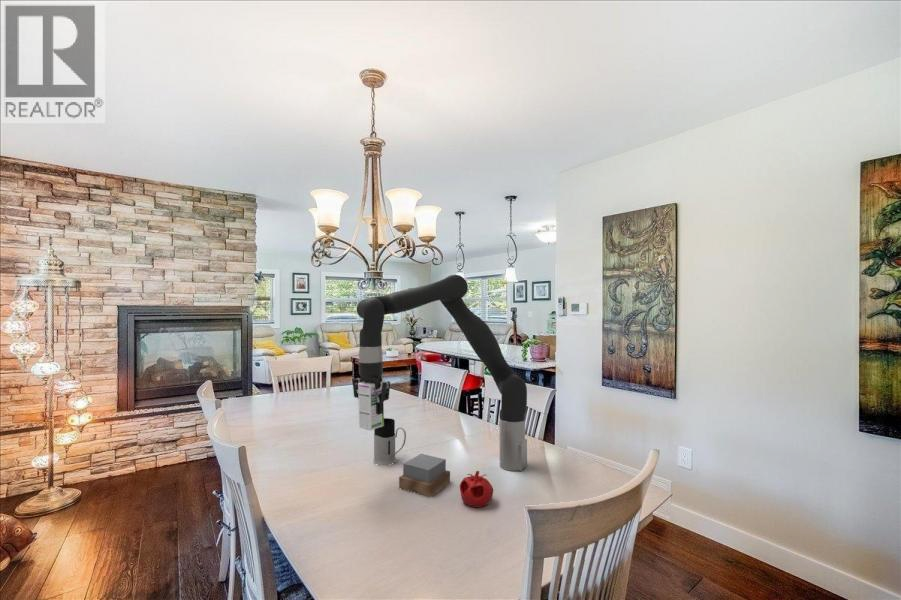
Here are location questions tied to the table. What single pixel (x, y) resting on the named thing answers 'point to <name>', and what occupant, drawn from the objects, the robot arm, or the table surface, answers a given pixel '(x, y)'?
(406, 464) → the charcoal top block
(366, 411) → the syrup box
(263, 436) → the table surface
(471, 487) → the pomegranate
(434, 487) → the walnut base block
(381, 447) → the grey mug
